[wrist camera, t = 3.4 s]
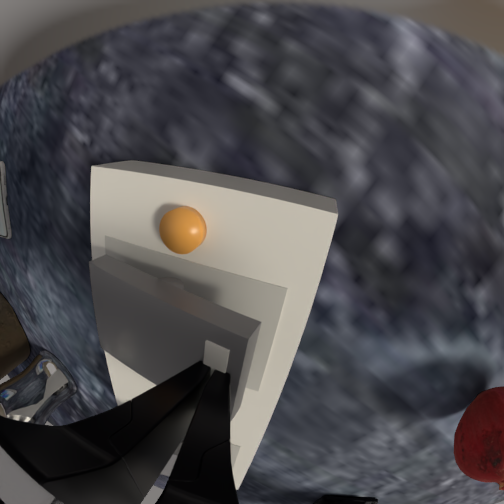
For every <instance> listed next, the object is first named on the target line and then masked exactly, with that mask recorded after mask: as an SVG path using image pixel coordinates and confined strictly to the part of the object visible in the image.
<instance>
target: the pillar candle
mask: <svg viewBox="0 0 504 504" xmlns="http://www.w3.org/2000/svg"><path fill="white" fill-rule="evenodd" d="M29 354H30V347H29V343H28V341H27V338H26V335H25V333H24V331H23V329H22V327H21V325H20V323H19V321H18V319H17V317H16V315H15V313H14V311H13V308H12V307H11V306H10V304H9V303H8V302H7V300H6V299H5V298H4V296H3V295H2V294H1V293H0V379H2V378H3V377H4V376H6V375H7V374H8V373H9V372H11V371H12V370H13V369H14V368H15V367H17V366H18V365H19V364H21V363H22V362H23V361H25V360H26V359H27V358H28V356H29Z"/></svg>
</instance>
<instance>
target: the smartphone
mask: <svg viewBox="0 0 504 504" xmlns="http://www.w3.org/2000/svg"><path fill="white" fill-rule="evenodd" d="M6 196H7V189H6V171H5V164H4V162H3V161H0V237H3V238H6V239H9V238H11V235H12V234H11V226H10V218H9V210H8V205H6V204H7V198H6Z"/></svg>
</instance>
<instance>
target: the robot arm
mask: <svg viewBox="0 0 504 504" xmlns="http://www.w3.org/2000/svg"><path fill="white" fill-rule="evenodd" d="M210 372H211V368H210V367H209V366H207V365H205V364H203V361H200V360H199V361H198V362H196V363H194V364H193V365H191V366H189V367H188V368H186V369H184V370H183V371H181V372H179V373H177V374H176V375H174V376H172V377H170V378H169V379H167V380H165V381H163V382H162V383H160V384H158V385H156V386H155V387H153V388H151V389H149V390H147V391H146V392H144V393H142V394H140V395H138V396H136V397H134V398H133V399H132V401H131V400H129V401H127V402H125V403H123V404H121V405H119V406H117V407H115V408H113V409H111V410H108V411H106V412H103V413H100V414H98V415H95V416H92V417H89V418H86V419H83V420H80V421H77V422H74V423H71V424H68V425H63V426H48V425H41V424H35V423H29V422H23V421H18V420H13V419H9V418H6V417H3V416H1V415H0V504H141V502H142V501H143V499H144V497H145V496H146V495H147V493H148V492H149V490H150V489H151V487H152V486H153V484H154V483H155V481H156V480H157V478H158V477H159V475H160V474H161V472H162V471H163V469H164V468H165V466H166V464H167V463H168V461H169V460H170V458H171V457H172V455H173V454H174V452H175V450H176V449H177V447H178V446H179V444H180V443H181V441H182V439H183V438H184V436H185V438H184V440H183V443H182V445H181V448H180V451H179V453H178V456H177V458H176V461H175V463H174V466H173V469H172V471H171V474H170V476H169V480H168V481H167V484H166V486H165V488H164V490H163V492H162V494H161V496H160V497H159V499H158V501H157V502H156V503H155V504H239V502H238V497H237V492H236V487H235V482H234V477H233V471H232V464H231V442H230V380H231V375H230V374H229V373H227V372H226V373H223V372H221V371H218V370H214V372H213V374H212V375H211V377H210ZM377 503H378V499H363V498H346V497H335V496H323V497H322V498H320V499H319V500H318V501H316V502H315V503H314V504H377Z"/></svg>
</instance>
